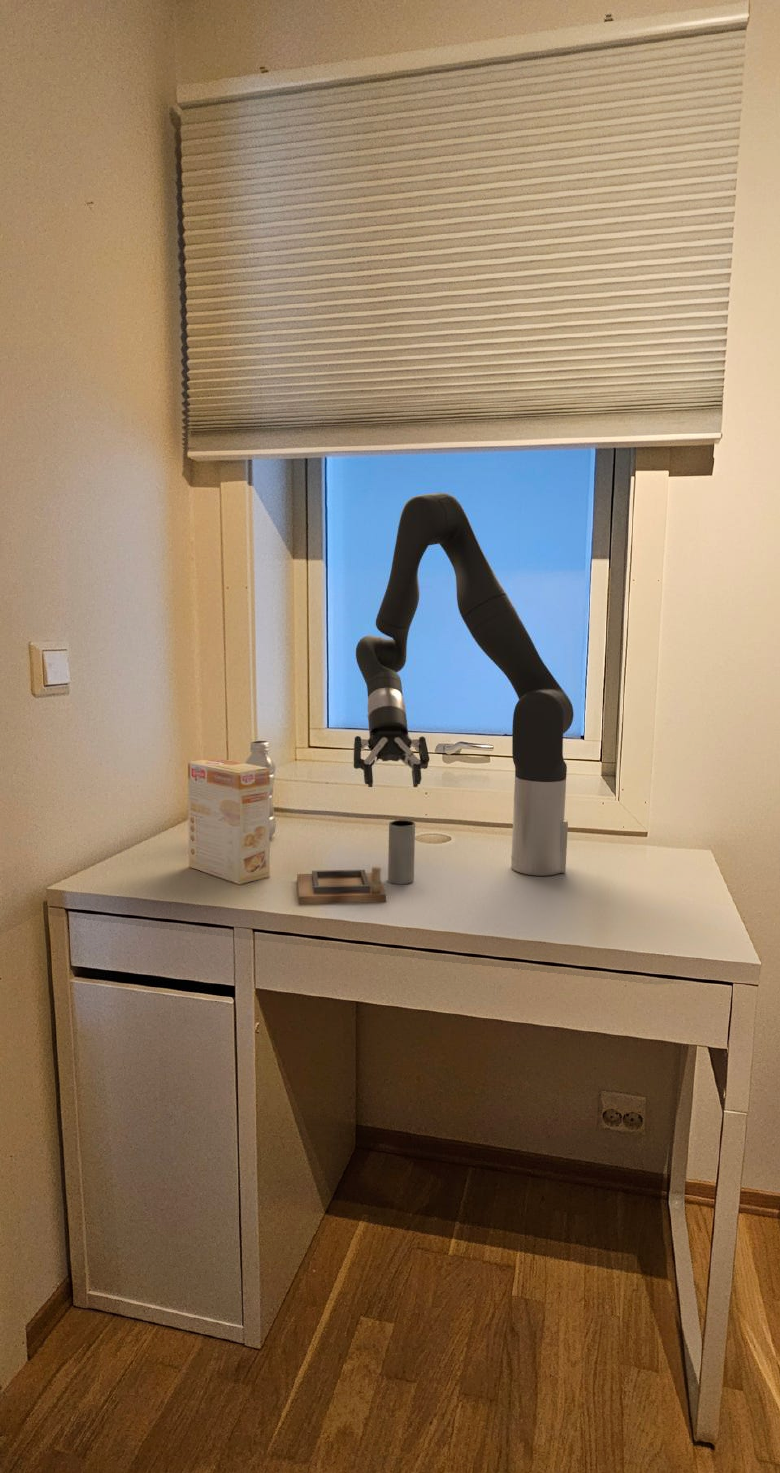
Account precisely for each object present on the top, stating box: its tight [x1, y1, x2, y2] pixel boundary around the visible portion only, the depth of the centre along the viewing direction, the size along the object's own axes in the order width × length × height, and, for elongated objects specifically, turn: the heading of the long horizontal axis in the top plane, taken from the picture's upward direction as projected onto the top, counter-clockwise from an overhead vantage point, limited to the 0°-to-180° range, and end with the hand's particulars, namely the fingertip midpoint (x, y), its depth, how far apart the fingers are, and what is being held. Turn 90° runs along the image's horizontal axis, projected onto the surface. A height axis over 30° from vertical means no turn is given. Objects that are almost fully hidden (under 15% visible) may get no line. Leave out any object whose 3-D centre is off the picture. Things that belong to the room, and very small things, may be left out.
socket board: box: [296, 866, 387, 905], centre depth 141 cm, size 14×12×5 cm
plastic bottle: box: [244, 740, 277, 838], centre depth 173 cm, size 6×7×20 cm
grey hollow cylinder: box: [387, 819, 416, 885], centre depth 147 cm, size 4×4×10 cm
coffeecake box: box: [187, 757, 271, 885], centre depth 150 cm, size 15×7×20 cm, turn 48°
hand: (393, 784), depth 158 cm, fingers open, 8 cm apart
